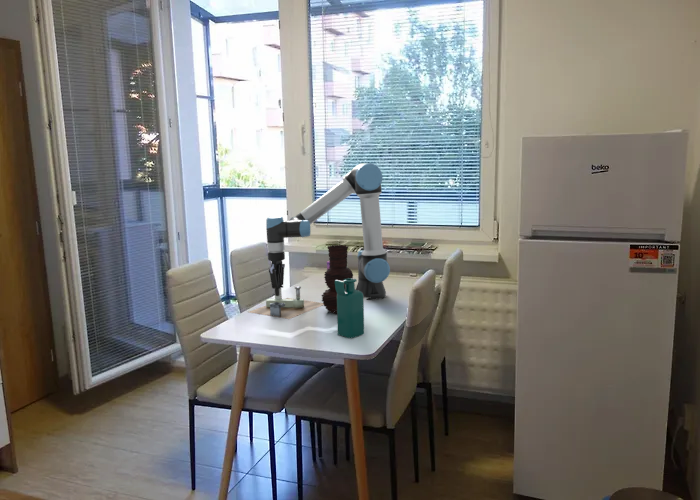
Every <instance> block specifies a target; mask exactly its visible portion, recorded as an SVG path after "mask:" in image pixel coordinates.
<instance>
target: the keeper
mask: <svg viewBox="0 0 700 500" xmlns="http://www.w3.org/2000/svg"><path fill="white" fill-rule="evenodd" d="M284 306H285V303H279V302H274V303H272V304H270V315H271V316H270V317H273V316H277V317H276V318H279V317H281V307H284Z"/></svg>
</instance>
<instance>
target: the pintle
mask: <svg viewBox="0 0 700 500" xmlns="http://www.w3.org/2000/svg"><path fill="white" fill-rule="evenodd" d="M294 289H295V299H296V300H300V299H301V289H302V286H300V285H299V286H298V285H297V286H294Z"/></svg>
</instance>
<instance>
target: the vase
mask: <svg viewBox="0 0 700 500" xmlns="http://www.w3.org/2000/svg"><path fill="white" fill-rule="evenodd" d="M348 249H349V245H346V244H345V245H344V244H338V245H337V244H335V245H333V244H332V245H329V246H327V251H328V261H329V262H330V263H329V265H330V268H329V269H327V268H326V271H325V272H324V277H323V279H324V283H325V284H326V287H327V289H326V290H324V292H322V294H321V302H322V303H323V304H324V305H323V307H325V309H326V310H327V312H329V314H330V313H331V314H334V315H337V292H336V289H335V280H340V281H343V280H344V279H347V278H353V279H354V274H353V272H352V270H351V269H350V268H349V267H348V268H347V263H348ZM344 290H345V284H344Z"/></svg>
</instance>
